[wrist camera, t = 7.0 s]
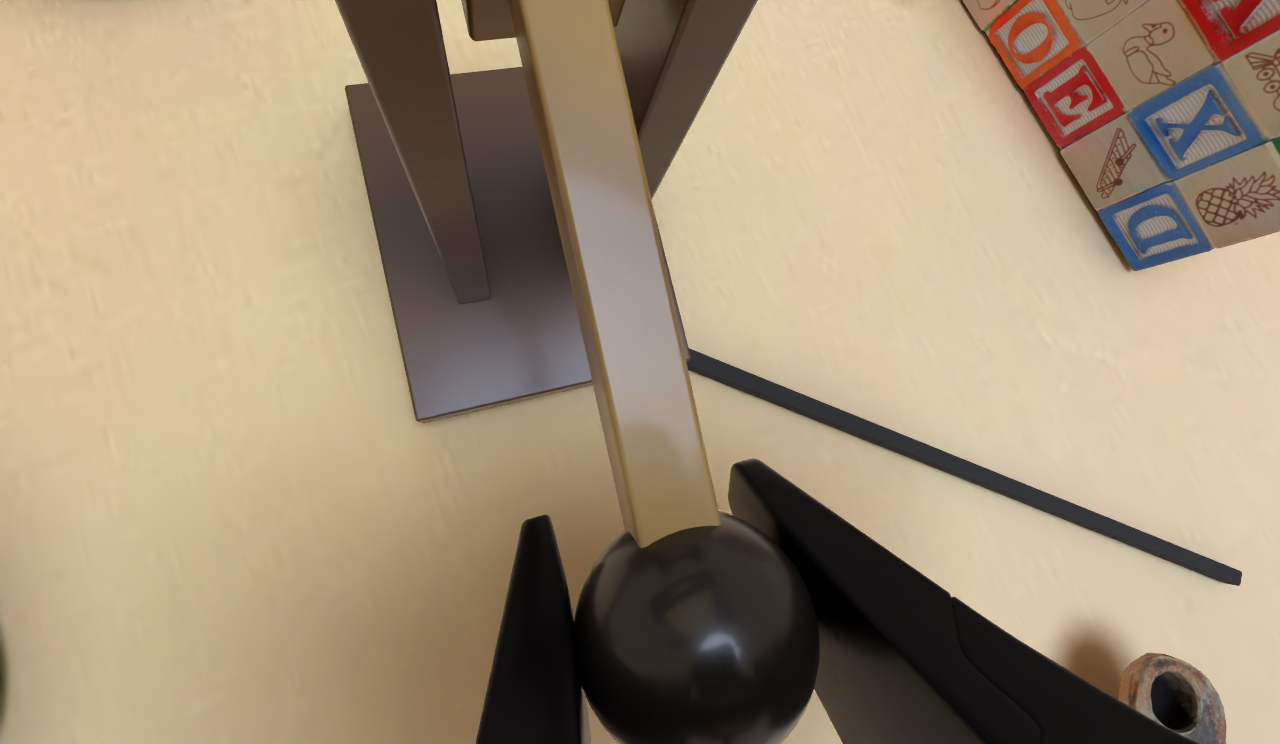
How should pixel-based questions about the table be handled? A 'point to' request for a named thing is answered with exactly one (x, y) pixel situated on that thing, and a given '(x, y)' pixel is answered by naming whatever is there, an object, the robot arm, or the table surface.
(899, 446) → the straight black rod
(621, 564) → the switch lever
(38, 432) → the table surface
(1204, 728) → the oil lamp
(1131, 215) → the stack of blocks
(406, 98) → the switch stand
